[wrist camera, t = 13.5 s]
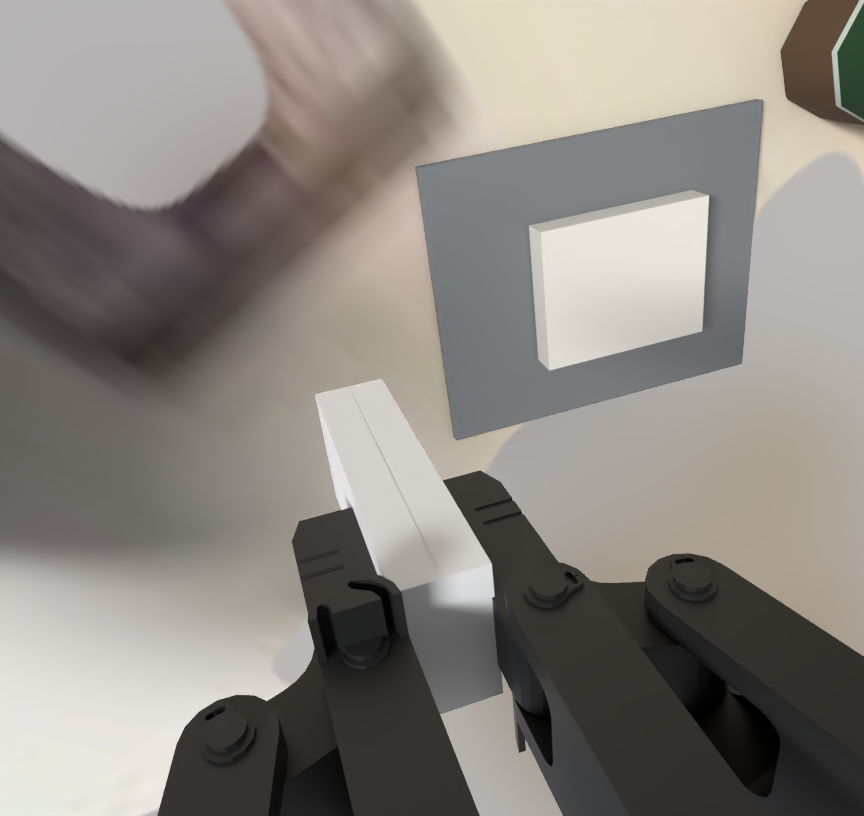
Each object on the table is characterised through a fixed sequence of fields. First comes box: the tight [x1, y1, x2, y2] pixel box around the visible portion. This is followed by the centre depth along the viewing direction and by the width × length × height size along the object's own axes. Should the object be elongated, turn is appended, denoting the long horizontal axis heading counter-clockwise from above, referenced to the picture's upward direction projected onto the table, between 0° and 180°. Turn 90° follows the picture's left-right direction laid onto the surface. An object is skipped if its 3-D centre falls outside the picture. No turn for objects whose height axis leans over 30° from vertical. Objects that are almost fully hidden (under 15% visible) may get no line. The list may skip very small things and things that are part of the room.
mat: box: [416, 99, 763, 440], centre depth 47 cm, size 22×18×1 cm
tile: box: [529, 190, 709, 371], centre depth 46 cm, size 2×9×11 cm
